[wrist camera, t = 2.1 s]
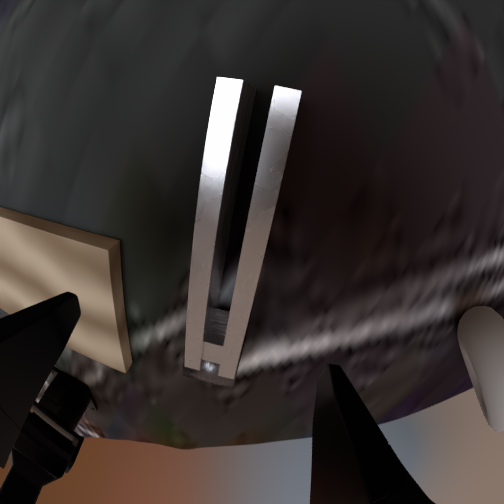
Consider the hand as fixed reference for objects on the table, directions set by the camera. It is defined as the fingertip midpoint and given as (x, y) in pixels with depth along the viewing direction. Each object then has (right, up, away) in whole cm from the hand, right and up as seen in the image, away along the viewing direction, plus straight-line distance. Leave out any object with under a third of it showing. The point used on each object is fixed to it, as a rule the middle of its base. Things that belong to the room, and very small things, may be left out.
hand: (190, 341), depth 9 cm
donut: (+19, -3, +9) cm, 21 cm away
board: (-19, +1, +13) cm, 23 cm away
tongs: (+1, +3, +8) cm, 9 cm away
